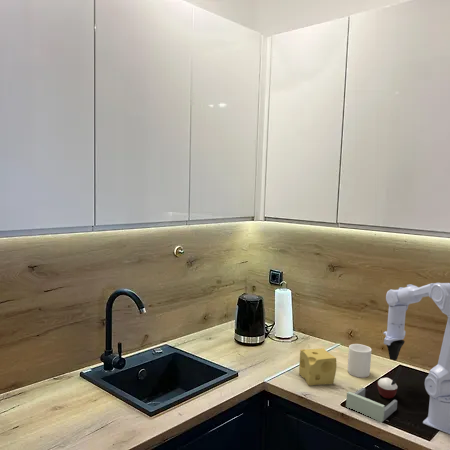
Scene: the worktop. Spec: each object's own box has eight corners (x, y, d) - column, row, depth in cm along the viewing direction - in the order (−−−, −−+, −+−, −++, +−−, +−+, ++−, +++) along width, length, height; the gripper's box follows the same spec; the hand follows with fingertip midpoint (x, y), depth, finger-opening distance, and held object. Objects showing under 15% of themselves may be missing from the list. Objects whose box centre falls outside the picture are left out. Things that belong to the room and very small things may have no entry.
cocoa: (373, 391, 153) (373, 358, 152) (390, 390, 153) (390, 357, 153) (385, 403, 143) (385, 368, 143) (403, 403, 144) (404, 368, 143)
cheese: (308, 386, 154) (310, 359, 153) (297, 373, 164) (299, 348, 163) (335, 384, 156) (337, 358, 155) (322, 371, 166) (324, 346, 165)
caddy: (396, 409, 140) (397, 394, 139) (381, 422, 132) (382, 406, 131) (362, 395, 148) (363, 382, 148) (345, 407, 140) (346, 392, 139)
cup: (352, 378, 162) (354, 352, 161) (340, 364, 174) (341, 340, 173) (373, 377, 163) (375, 351, 162) (359, 364, 175) (361, 340, 174)
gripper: (393, 316, 162) (390, 351, 163) (376, 324, 151) (373, 361, 152) (412, 320, 157) (409, 356, 158) (396, 329, 146) (393, 367, 147)
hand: (393, 359), depth 155 cm, fingers closed
